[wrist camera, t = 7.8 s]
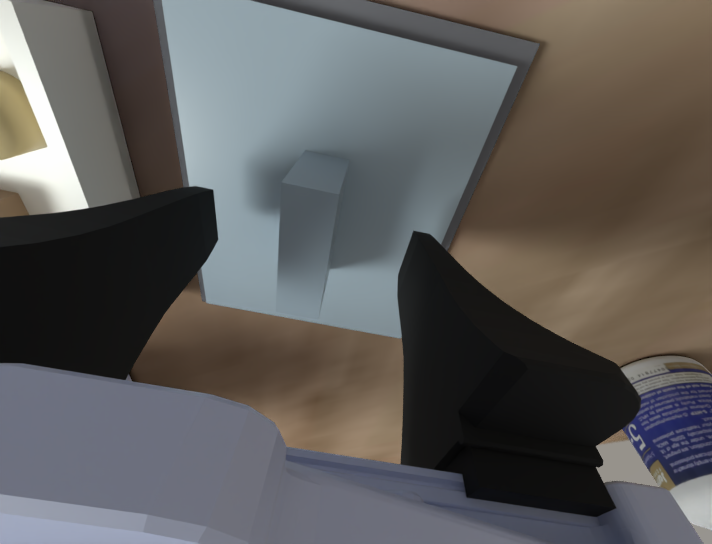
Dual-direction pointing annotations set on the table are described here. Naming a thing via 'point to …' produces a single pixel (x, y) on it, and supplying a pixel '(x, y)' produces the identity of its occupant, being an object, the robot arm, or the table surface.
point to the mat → (350, 7)
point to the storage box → (57, 114)
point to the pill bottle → (675, 429)
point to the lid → (322, 153)
